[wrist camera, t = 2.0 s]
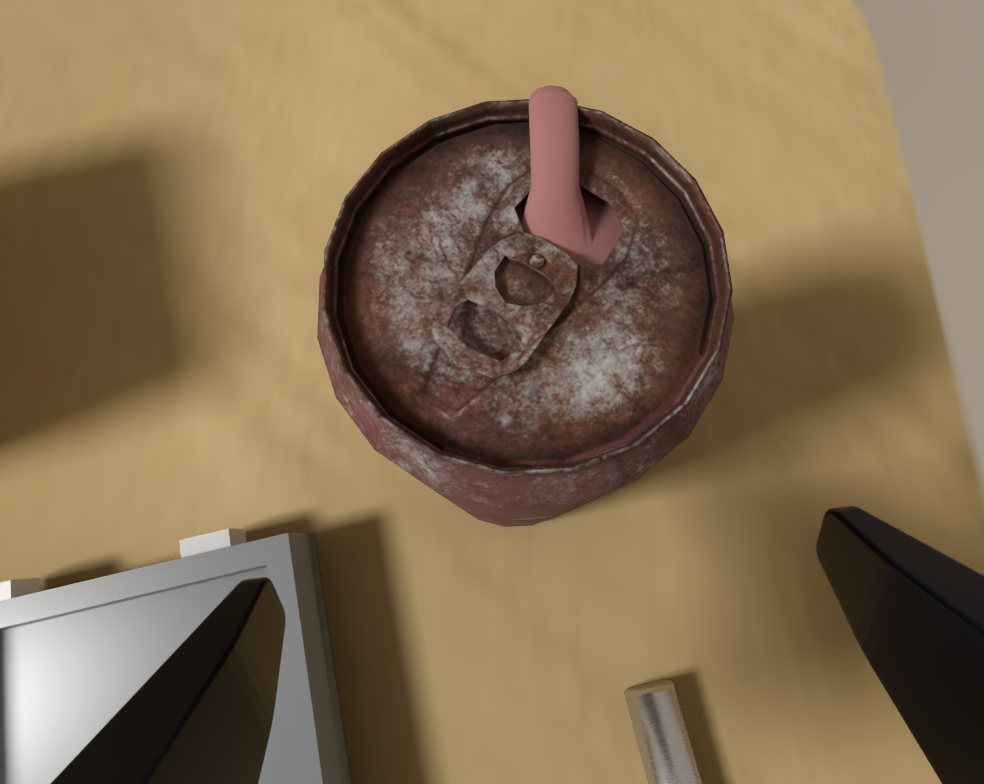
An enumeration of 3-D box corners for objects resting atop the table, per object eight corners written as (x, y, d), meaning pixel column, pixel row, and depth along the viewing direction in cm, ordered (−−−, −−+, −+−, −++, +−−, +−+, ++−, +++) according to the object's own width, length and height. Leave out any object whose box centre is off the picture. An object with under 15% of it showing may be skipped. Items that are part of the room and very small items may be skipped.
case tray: (377, 952, 17) (355, 1020, 15) (-43, 1063, 17) (-136, 1151, 14) (311, 516, 21) (285, 513, 18) (-43, 600, 20) (-117, 608, 18)
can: (590, 352, 22) (727, 48, 8) (602, 524, 20) (796, 496, 7) (430, 357, 22) (308, 64, 8) (430, 528, 20) (277, 508, 7)
